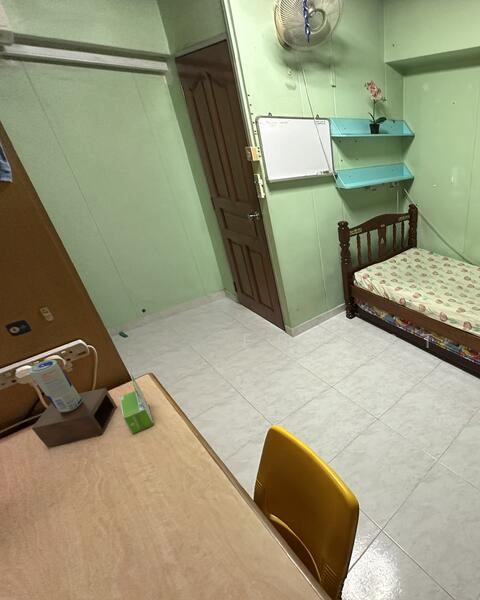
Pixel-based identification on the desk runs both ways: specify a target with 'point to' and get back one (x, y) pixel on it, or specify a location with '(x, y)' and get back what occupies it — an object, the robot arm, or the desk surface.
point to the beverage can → (56, 385)
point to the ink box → (136, 410)
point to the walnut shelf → (76, 419)
